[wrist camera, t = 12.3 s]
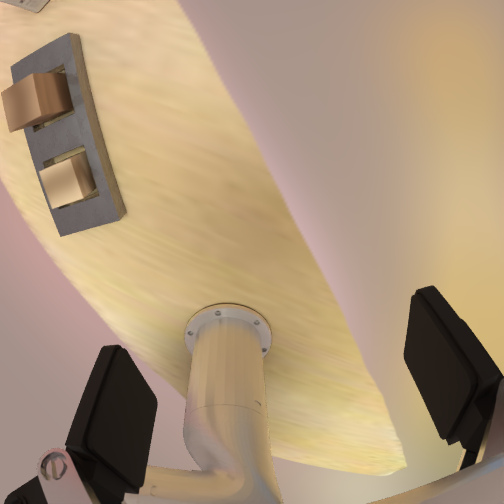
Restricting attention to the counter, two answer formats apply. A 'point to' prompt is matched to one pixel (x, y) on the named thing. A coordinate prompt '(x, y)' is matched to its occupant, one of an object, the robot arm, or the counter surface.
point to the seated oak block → (68, 180)
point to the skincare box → (27, 4)
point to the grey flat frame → (72, 137)
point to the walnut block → (36, 100)
